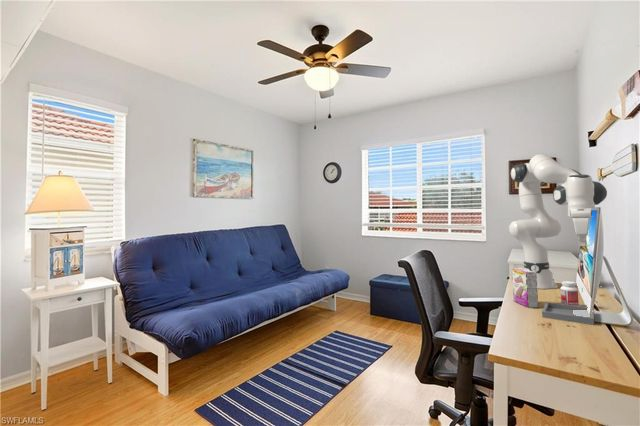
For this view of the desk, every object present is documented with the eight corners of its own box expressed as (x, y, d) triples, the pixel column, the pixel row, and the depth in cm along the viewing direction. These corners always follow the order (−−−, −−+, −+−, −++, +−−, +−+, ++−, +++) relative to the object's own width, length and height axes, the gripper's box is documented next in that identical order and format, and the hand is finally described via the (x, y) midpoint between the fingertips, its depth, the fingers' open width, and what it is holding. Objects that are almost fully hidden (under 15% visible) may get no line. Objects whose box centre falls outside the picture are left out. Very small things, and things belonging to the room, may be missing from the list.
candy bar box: (512, 301, 149) (511, 268, 149) (523, 301, 149) (521, 267, 149) (528, 308, 138) (526, 272, 138) (539, 307, 138) (537, 271, 138)
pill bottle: (581, 306, 137) (579, 282, 137) (576, 309, 134) (574, 284, 134) (564, 303, 142) (562, 280, 142) (559, 306, 139) (557, 282, 139)
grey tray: (546, 307, 138) (546, 302, 138) (593, 313, 127) (593, 307, 127) (542, 317, 126) (542, 311, 126) (594, 325, 116) (593, 318, 116)
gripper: (572, 212, 138) (574, 242, 138) (570, 213, 123) (572, 247, 123) (591, 211, 134) (593, 242, 134) (591, 212, 119) (593, 247, 119)
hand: (583, 244), depth 128 cm, fingers open, 8 cm apart
